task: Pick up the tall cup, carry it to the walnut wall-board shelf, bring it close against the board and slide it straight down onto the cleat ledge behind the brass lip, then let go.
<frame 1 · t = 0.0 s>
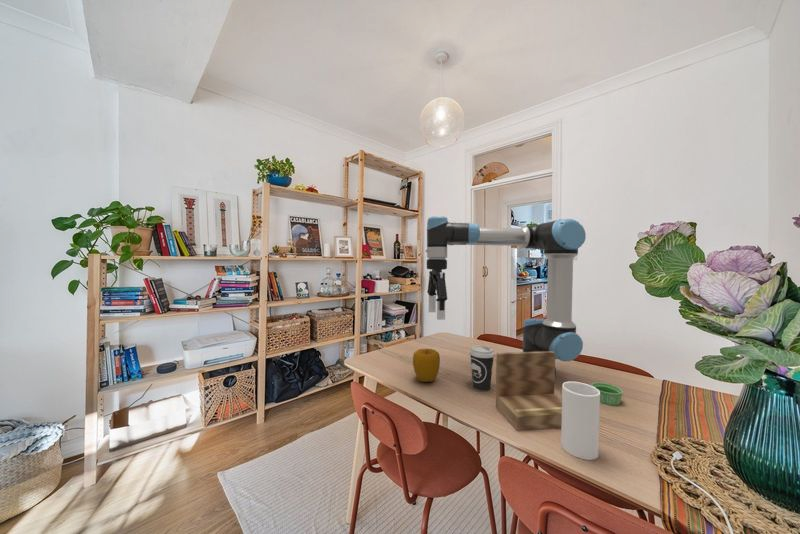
hand: (436, 315, 106), 28 cm above the table, fingers open, 13 cm apart
ramekin: (606, 400, 100), on the table
coffee cup: (481, 387, 109), on the table
shelf: (525, 405, 95), on the table
apple: (426, 380, 115), on the table
cup: (579, 449, 74), on the table
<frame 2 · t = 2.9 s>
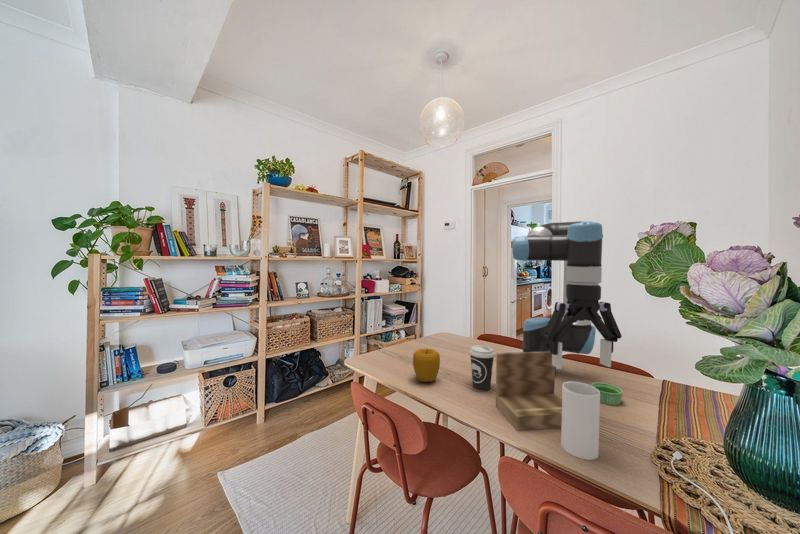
hand: (581, 366, 73), 22 cm above the table, fingers open, 13 cm apart
nothing on the table moved.
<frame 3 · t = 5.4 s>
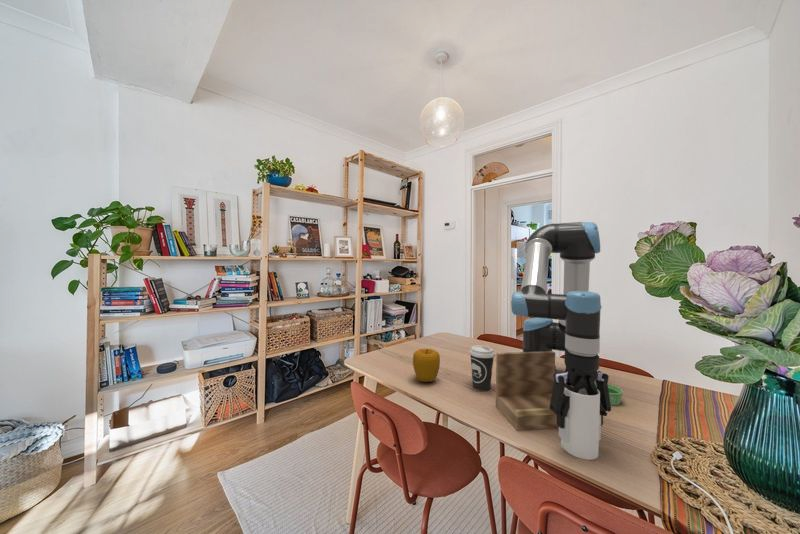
hand: (579, 438, 74), 3 cm above the table, fingers closed on cup, 8 cm apart
cup: (579, 449, 74), on the table, touching gripper
everything else where it was.
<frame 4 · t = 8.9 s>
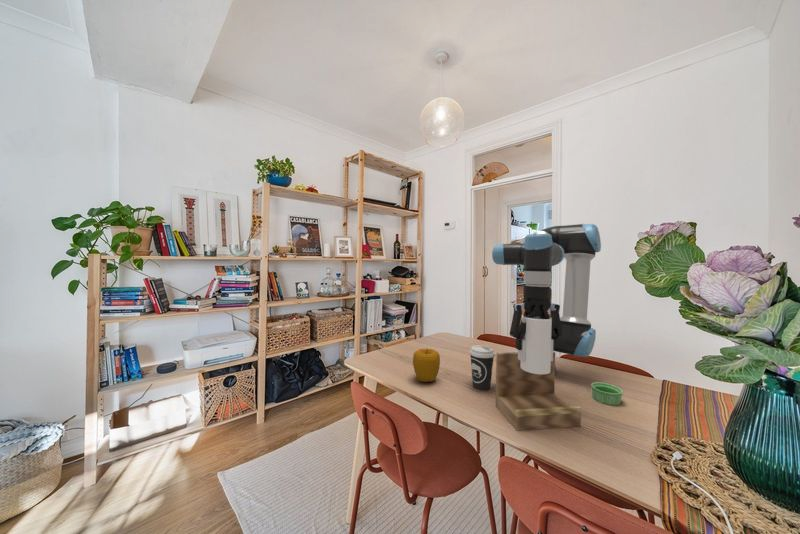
hand: (535, 359, 86), 19 cm above the table, fingers closed on cup, 8 cm apart
cup: (535, 369, 86), point 16 cm above the table, touching gripper
everything else where it was.
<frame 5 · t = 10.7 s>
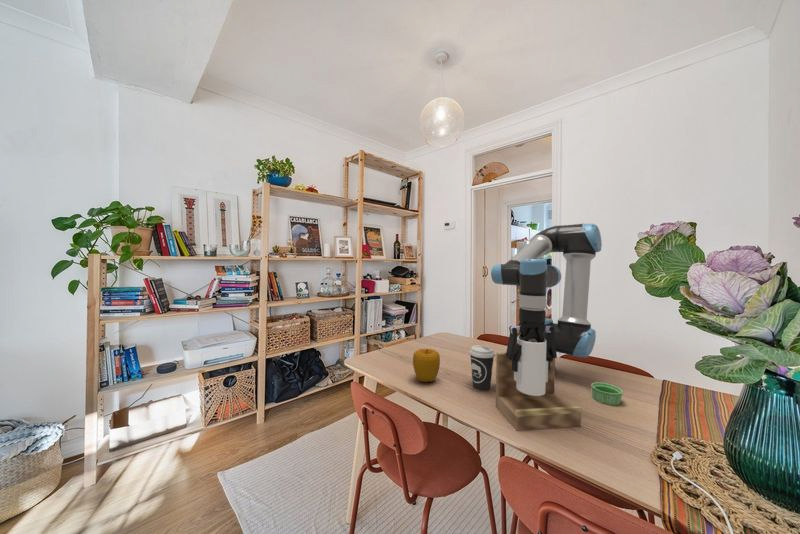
hand: (530, 380, 89), 11 cm above the table, fingers closed on cup, 8 cm apart
cup: (530, 390, 89), point 8 cm above the table, touching gripper
everything else where it was.
when the fingers open (8 cm above the table, at t = 12.2 s): cup drops 1 cm, resting on shelf.
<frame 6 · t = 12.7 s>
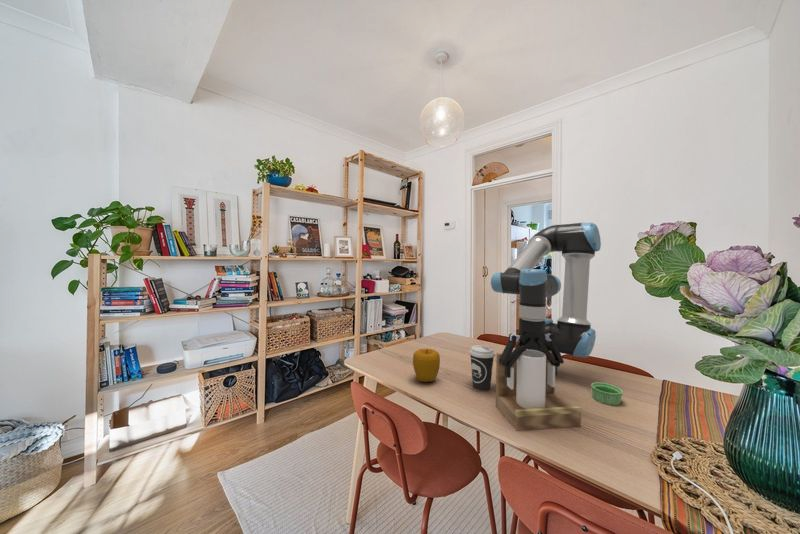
hand: (530, 386, 89), 9 cm above the table, fingers open, 13 cm apart
cup: (530, 404, 89), point 4 cm above the table, touching shelf
everything else where it was.
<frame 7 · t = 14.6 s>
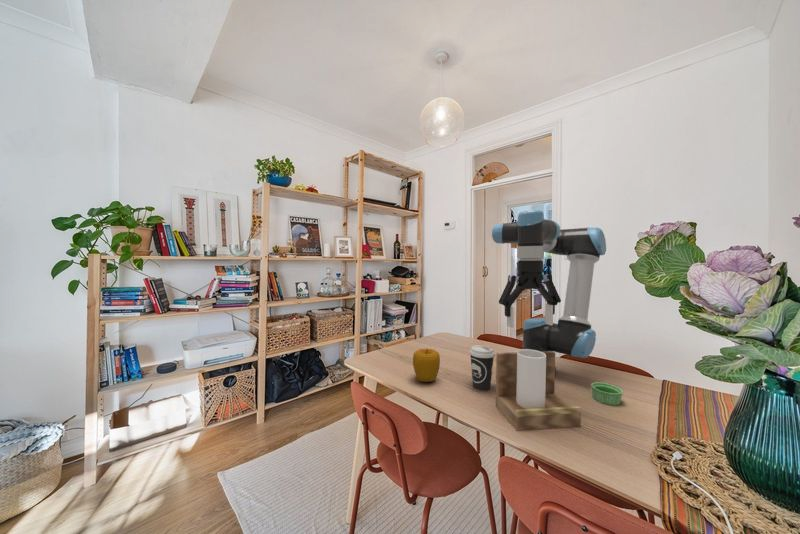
hand: (529, 325, 92), 28 cm above the table, fingers open, 13 cm apart
nothing on the table moved.
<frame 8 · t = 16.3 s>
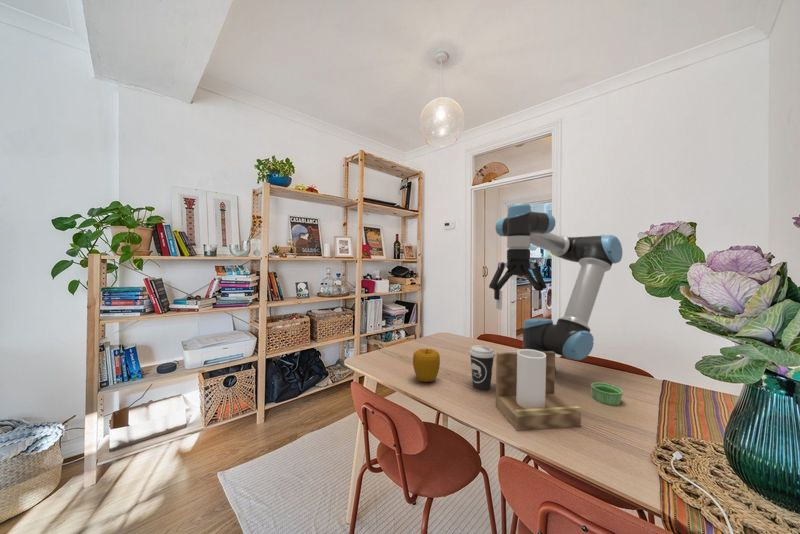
hand: (517, 308, 100), 32 cm above the table, fingers open, 13 cm apart
nothing on the table moved.
at the end: cup inside the target area on the shelf (2.0 cm from its centre), point 3.8 cm above the shelf's base; cup tilted 0°; the gripper is holding nothing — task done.
